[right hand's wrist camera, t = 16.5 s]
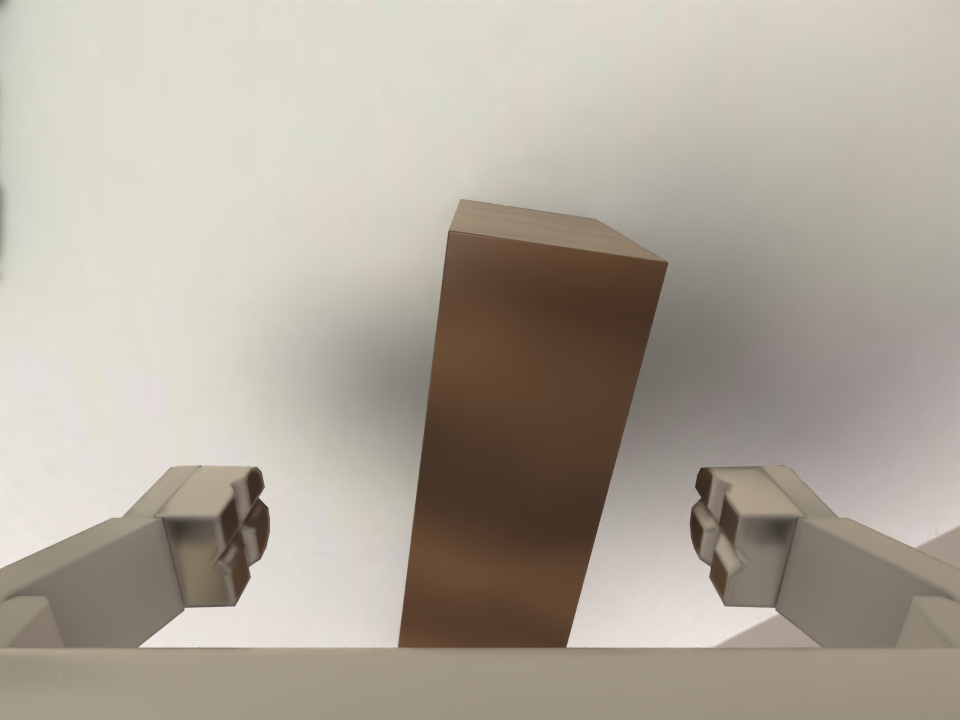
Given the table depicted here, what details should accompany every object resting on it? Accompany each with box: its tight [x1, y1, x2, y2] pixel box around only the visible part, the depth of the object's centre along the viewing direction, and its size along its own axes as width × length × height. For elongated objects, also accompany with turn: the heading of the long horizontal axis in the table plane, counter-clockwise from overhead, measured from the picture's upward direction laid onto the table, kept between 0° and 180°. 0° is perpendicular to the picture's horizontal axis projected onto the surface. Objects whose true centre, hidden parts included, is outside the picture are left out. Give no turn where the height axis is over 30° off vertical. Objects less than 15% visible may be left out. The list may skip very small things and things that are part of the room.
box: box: [398, 199, 668, 648], centre depth 24 cm, size 26×6×10 cm, turn 172°
